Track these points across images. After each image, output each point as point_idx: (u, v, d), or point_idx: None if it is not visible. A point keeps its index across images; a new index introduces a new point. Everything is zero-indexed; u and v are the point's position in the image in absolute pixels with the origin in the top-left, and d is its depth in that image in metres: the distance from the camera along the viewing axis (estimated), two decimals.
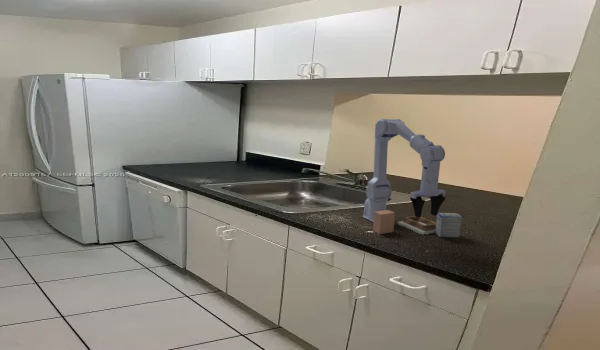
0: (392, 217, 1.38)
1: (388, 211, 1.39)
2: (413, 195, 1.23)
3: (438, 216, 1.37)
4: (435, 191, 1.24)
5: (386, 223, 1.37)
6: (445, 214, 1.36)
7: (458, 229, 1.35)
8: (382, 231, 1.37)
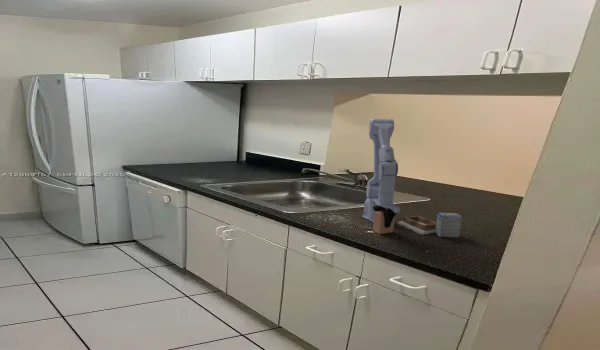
0: None
1: None
2: None
3: (438, 216, 1.37)
4: (380, 202, 1.36)
5: None
6: (445, 214, 1.36)
7: (458, 229, 1.35)
8: (382, 230, 1.37)
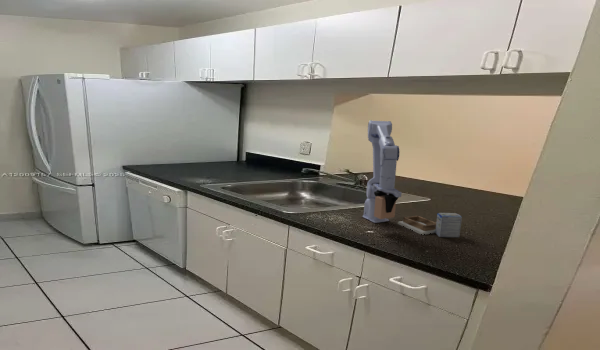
0: None
1: None
2: None
3: (438, 216, 1.37)
4: (382, 187, 1.35)
5: None
6: (445, 214, 1.36)
7: (458, 229, 1.35)
8: (384, 216, 1.36)
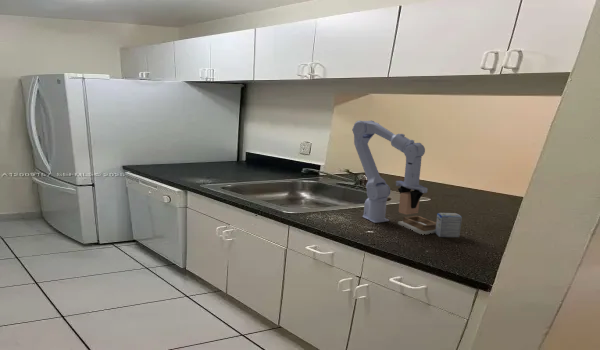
0: None
1: None
2: None
3: (438, 216, 1.37)
4: (407, 183, 1.38)
5: None
6: (445, 214, 1.36)
7: (458, 229, 1.35)
8: (409, 211, 1.40)
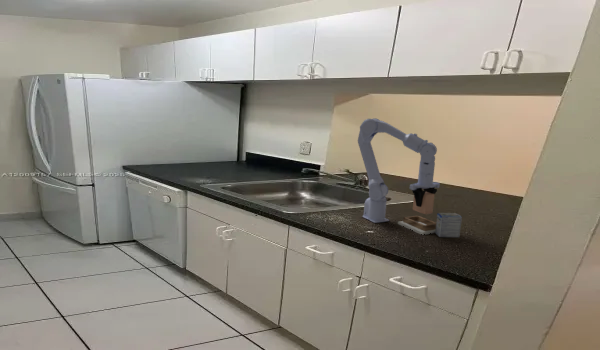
0: None
1: None
2: (412, 187, 1.39)
3: (438, 216, 1.37)
4: (431, 183, 1.40)
5: None
6: (445, 214, 1.36)
7: (458, 229, 1.35)
8: None
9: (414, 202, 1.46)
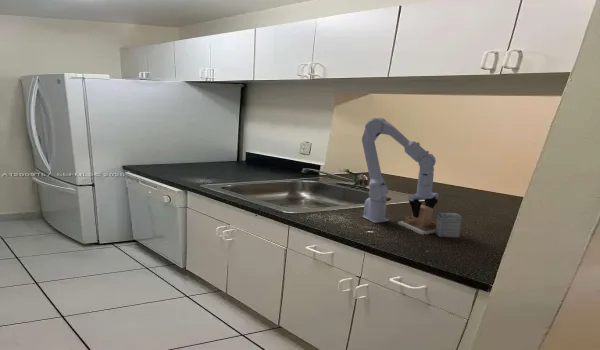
0: None
1: None
2: (411, 198, 1.40)
3: (438, 216, 1.37)
4: (430, 194, 1.41)
5: None
6: (445, 214, 1.36)
7: (458, 229, 1.35)
8: None
9: None
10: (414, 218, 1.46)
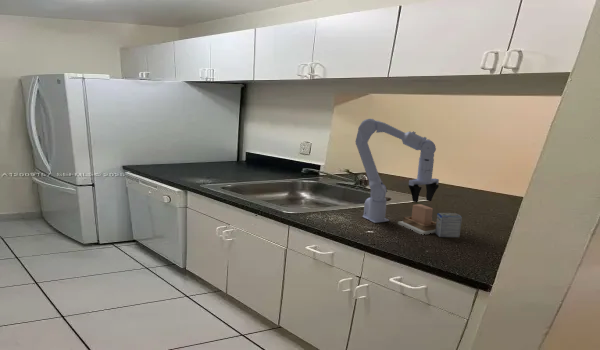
0: None
1: (418, 205, 1.46)
2: (411, 182, 1.42)
3: (438, 216, 1.37)
4: (430, 179, 1.43)
5: None
6: (445, 214, 1.36)
7: (458, 229, 1.35)
8: None
9: (413, 216, 1.47)
10: (414, 218, 1.46)
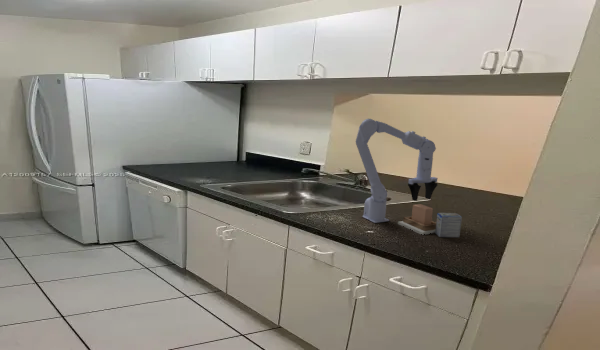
0: None
1: (418, 205, 1.46)
2: (411, 181, 1.45)
3: (438, 216, 1.37)
4: (429, 178, 1.46)
5: None
6: (445, 214, 1.36)
7: (458, 229, 1.35)
8: None
9: (413, 216, 1.47)
10: (414, 218, 1.46)
